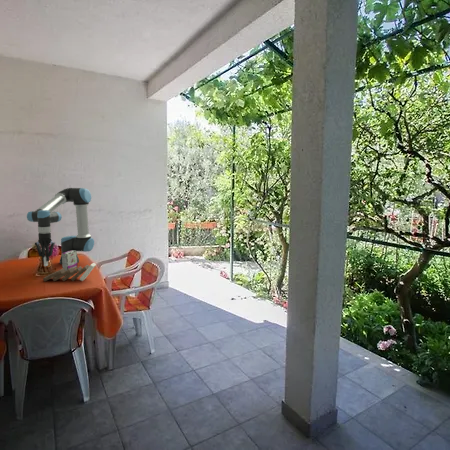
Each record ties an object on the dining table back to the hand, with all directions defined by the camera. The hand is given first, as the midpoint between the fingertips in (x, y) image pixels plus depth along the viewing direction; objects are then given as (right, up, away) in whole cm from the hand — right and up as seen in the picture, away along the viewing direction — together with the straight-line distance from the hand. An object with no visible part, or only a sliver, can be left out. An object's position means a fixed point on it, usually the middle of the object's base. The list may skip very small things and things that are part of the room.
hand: (46, 265), depth 220 cm
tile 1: (-1, -9, +1) cm, 9 cm away
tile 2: (+6, -9, +2) cm, 11 cm away
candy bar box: (+7, -8, +21) cm, 24 cm away
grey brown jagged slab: (+12, -10, +3) cm, 15 cm away
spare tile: (+24, -10, +4) cm, 26 cm away
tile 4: (+18, -10, +3) cm, 21 cm away
